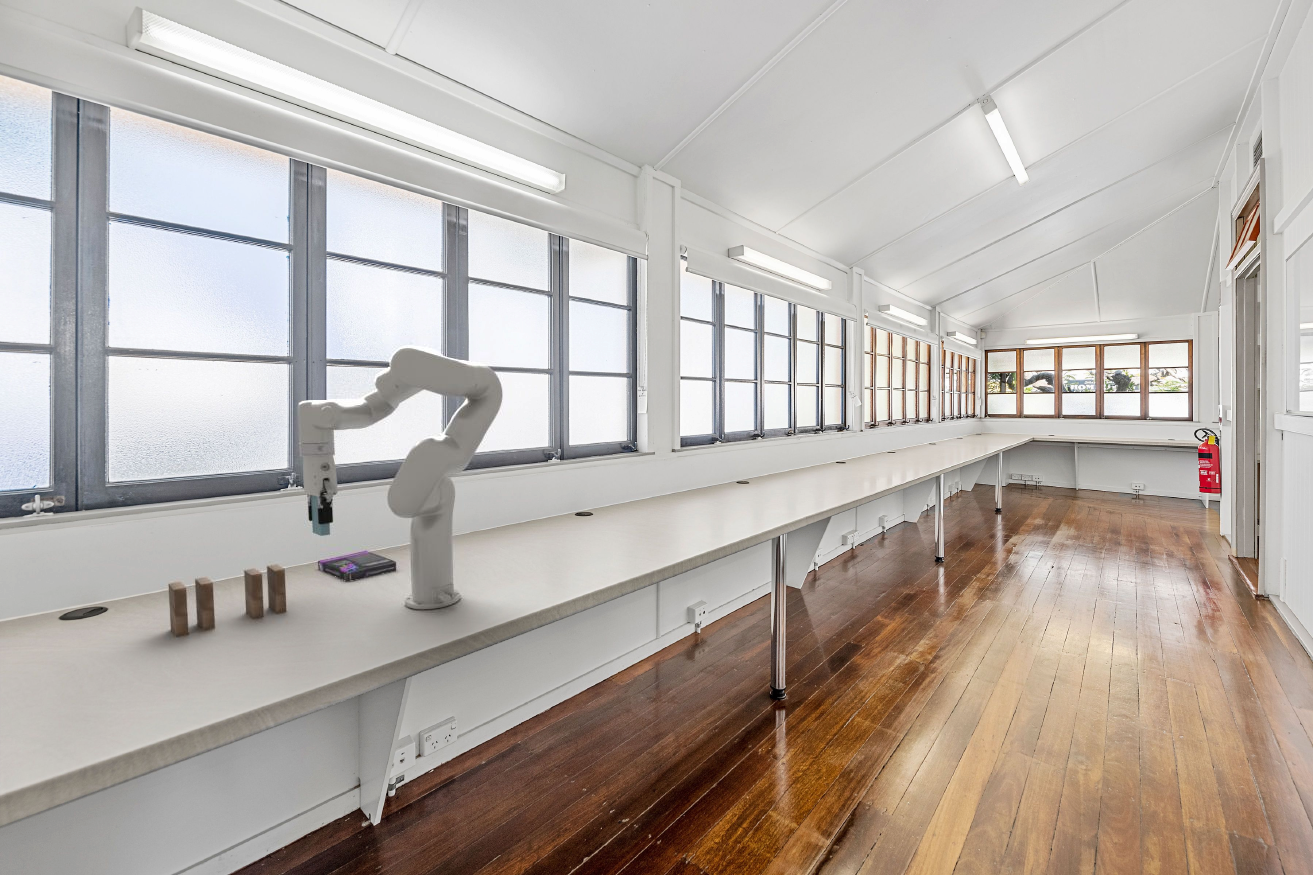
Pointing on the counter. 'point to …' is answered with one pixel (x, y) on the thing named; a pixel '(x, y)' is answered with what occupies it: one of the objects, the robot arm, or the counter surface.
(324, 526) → the domino
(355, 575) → the box
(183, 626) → the domino
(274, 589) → the domino
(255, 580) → the domino
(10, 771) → the counter surface
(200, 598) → the domino
